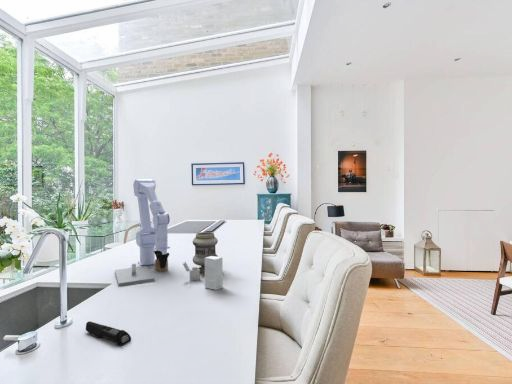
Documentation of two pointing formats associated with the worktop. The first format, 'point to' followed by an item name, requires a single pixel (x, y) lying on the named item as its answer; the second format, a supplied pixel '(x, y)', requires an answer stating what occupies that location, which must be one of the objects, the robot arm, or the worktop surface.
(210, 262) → the skincare box
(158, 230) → the robot arm
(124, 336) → the electric trimmer
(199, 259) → the apothecary jar
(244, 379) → the worktop surface
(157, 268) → the walnut bead
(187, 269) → the lighter
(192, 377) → the worktop surface
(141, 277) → the grey peg base
